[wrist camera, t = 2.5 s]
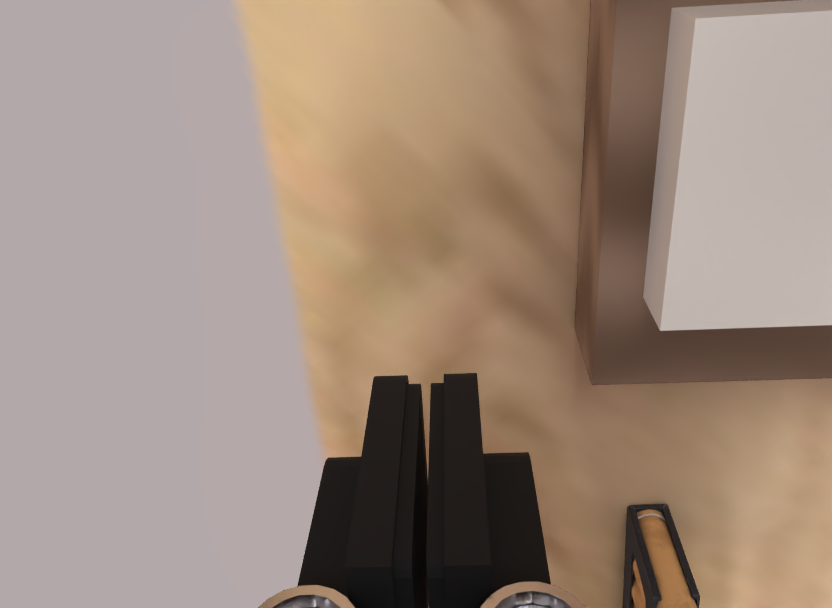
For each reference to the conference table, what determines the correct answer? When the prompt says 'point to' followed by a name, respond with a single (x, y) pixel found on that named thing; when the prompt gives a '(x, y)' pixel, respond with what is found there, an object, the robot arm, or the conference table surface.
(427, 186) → the conference table surface
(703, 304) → the white rectangular block
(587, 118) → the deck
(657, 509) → the ammunition clip
